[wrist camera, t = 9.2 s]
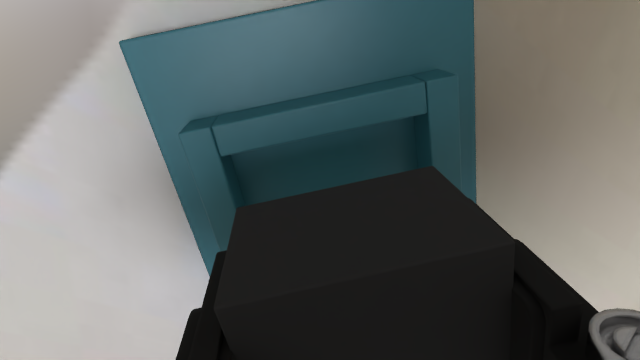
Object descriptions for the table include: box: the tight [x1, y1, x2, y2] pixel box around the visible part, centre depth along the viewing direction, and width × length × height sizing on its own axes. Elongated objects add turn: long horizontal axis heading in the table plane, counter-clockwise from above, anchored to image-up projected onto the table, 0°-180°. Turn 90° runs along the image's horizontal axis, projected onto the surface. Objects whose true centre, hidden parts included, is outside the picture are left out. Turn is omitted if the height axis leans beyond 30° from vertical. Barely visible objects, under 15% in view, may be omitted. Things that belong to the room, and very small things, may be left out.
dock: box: [119, 0, 476, 276], centre depth 15 cm, size 11×19×2 cm, turn 11°
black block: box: [214, 166, 515, 360], centre depth 8 cm, size 5×5×4 cm
